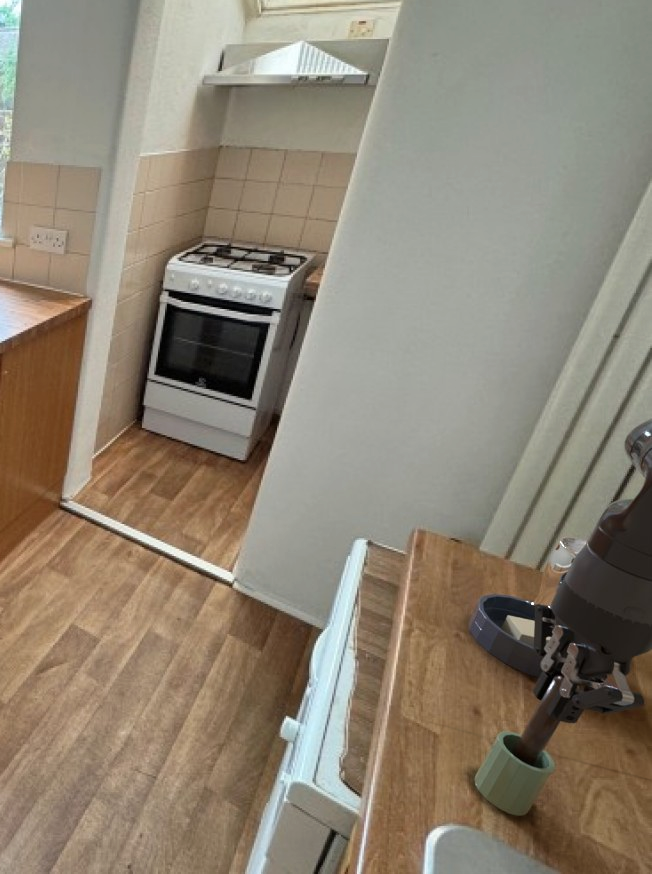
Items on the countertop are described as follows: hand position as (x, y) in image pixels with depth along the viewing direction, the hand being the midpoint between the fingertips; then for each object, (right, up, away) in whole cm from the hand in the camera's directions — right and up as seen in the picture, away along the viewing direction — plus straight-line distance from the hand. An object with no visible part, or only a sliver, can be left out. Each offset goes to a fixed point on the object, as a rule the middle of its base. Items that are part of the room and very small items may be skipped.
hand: (551, 708), depth 70 cm
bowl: (+24, -7, +27) cm, 36 cm away
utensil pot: (0, -15, +6) cm, 16 cm away
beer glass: (+35, -5, +32) cm, 48 cm away
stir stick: (0, -13, +5) cm, 14 cm away
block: (+24, -6, +26) cm, 36 cm away
